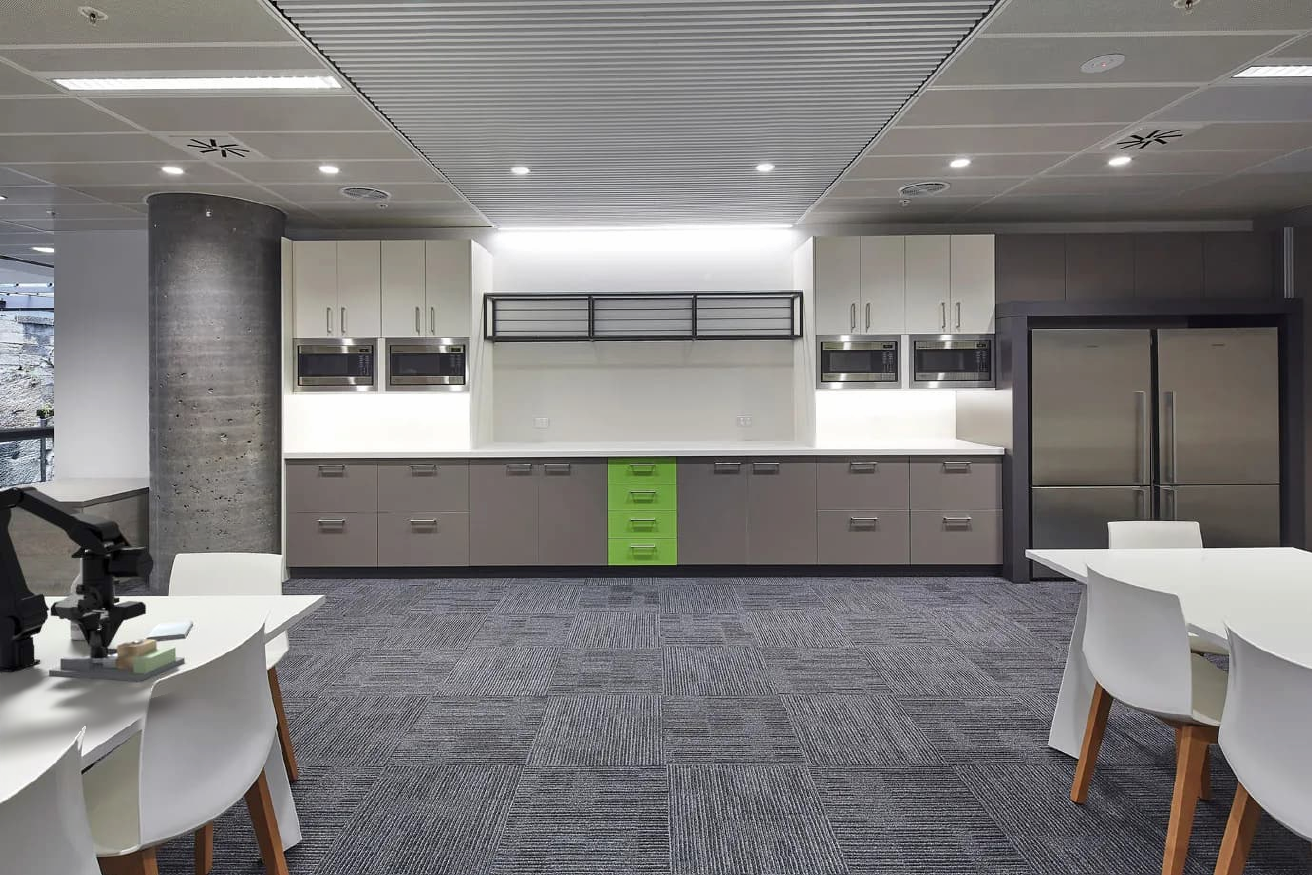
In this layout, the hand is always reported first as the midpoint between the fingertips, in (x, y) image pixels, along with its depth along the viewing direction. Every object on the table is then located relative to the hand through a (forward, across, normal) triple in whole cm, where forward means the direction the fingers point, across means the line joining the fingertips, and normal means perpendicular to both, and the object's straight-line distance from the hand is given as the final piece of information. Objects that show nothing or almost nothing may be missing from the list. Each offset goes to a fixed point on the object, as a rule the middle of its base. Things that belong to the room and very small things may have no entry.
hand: (98, 646), depth 161 cm
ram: (+3, +3, 0) cm, 4 cm away
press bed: (+4, +5, 0) cm, 7 cm away
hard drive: (+5, -4, +25) cm, 26 cm away
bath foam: (+5, -21, +18) cm, 28 cm away
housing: (+4, +10, 0) cm, 10 cm away
